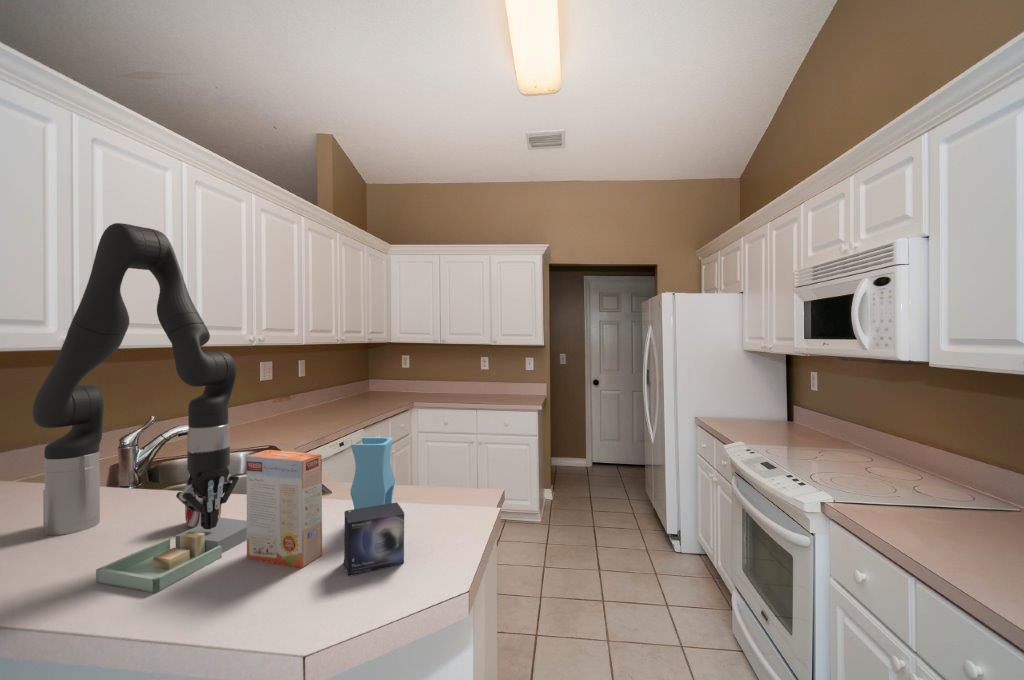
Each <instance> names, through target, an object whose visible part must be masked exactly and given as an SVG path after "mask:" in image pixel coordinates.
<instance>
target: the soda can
mask: <svg viewBox="0 0 1024 680" xmlns="http://www.w3.org/2000/svg"><path fill="white" fill-rule="evenodd" d="M189 476H190V474H188V478H189ZM187 482H188V479H187V480H186V482H185V484H184V487H185V488H186V487H187V486H188V484H187ZM185 488H184V489H185ZM194 494H195V493H194ZM194 497H195V498H196V494H195V496H194ZM213 500H214V499H213ZM184 509H185V510H184V512H185V513H184V514H185V525H186V526H188V527H190V528H194V527H197V526H199V525H201V513H200V512H196V511H191V510H190V509H189V508H188V507H186V506H185V505H184ZM221 513H222V504H221V505H220V507H219V508H218V517H220V518H221Z"/></svg>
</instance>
